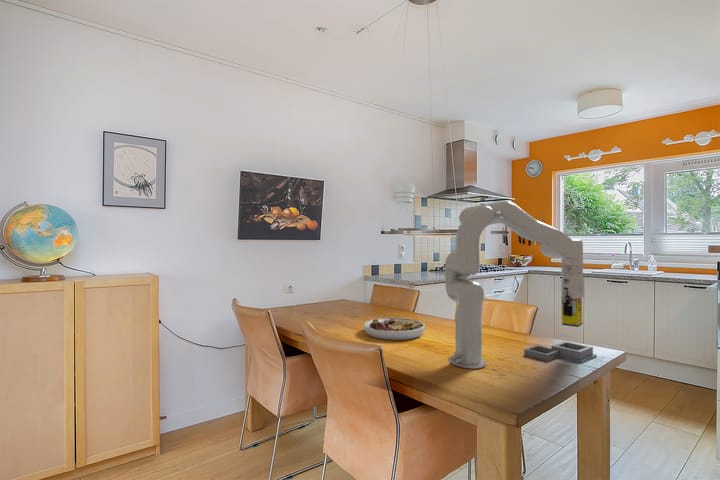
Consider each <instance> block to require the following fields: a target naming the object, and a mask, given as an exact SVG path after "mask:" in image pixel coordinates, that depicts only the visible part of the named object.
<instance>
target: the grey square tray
mask: <svg viewBox="0 0 720 480" xmlns="http://www.w3.org/2000/svg"><path fill="white" fill-rule="evenodd" d="M523 354H524V356H525V357H529V358H533V359H537V360H541V361H544V362H550V361H553V360H556V359H558V358H559V355H560V351H559V350H555V349H551V347H547V346H546V347H545V346H542V345H538V344H537V345H533V346H530V347H527V348H524V349H523Z"/></svg>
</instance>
